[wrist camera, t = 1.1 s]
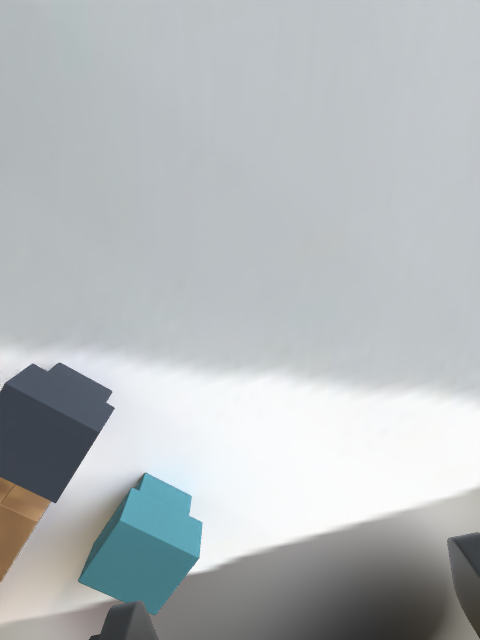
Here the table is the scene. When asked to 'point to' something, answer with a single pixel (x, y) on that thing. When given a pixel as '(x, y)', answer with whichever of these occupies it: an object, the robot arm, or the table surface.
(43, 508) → the block
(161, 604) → the teal stepped block
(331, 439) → the table surface
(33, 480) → the dark grey cube
